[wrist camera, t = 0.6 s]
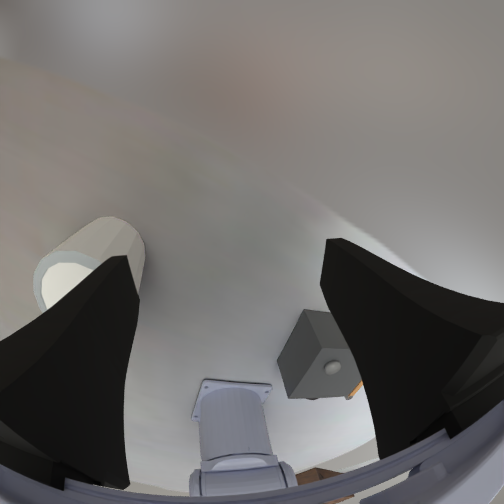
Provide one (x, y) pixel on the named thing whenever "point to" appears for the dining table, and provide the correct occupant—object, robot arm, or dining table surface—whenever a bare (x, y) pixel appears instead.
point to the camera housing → (317, 359)
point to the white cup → (87, 258)
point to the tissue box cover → (317, 475)
